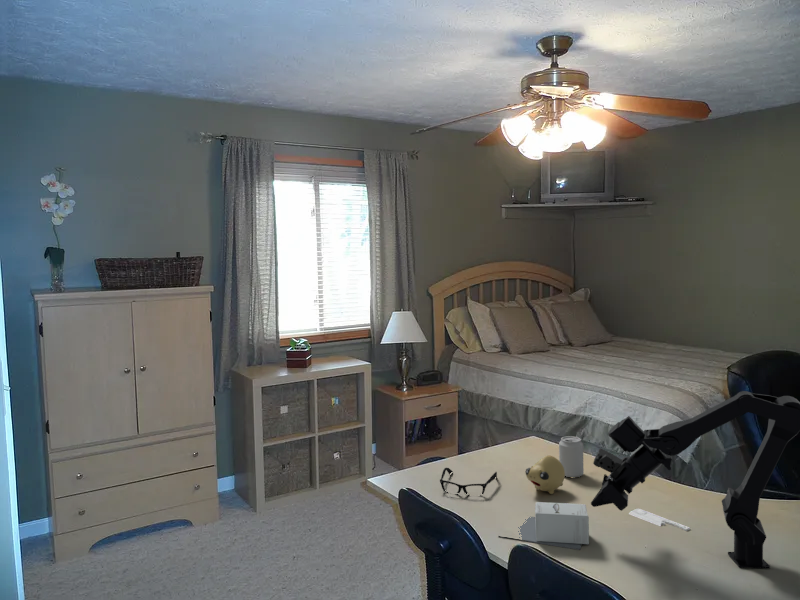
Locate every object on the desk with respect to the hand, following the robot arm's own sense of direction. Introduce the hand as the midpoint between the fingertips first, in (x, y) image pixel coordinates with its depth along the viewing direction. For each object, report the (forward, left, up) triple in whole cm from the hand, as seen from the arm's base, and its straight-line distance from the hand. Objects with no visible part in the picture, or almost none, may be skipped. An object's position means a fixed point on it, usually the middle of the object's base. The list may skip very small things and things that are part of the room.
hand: (592, 504), depth 149 cm
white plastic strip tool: (+10, -19, -9) cm, 23 cm away
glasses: (+34, +31, -9) cm, 47 cm away
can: (+44, -2, -9) cm, 45 cm away
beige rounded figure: (+30, +8, -9) cm, 32 cm away
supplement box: (-1, +1, -5) cm, 5 cm away
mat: (+4, +12, -9) cm, 15 cm away
